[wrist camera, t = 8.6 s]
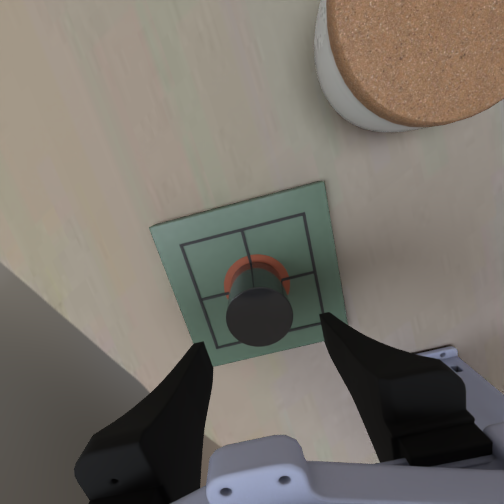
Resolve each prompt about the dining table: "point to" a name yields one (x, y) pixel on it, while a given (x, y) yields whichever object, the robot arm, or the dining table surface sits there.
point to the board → (254, 250)
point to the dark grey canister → (258, 305)
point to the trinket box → (410, 60)
